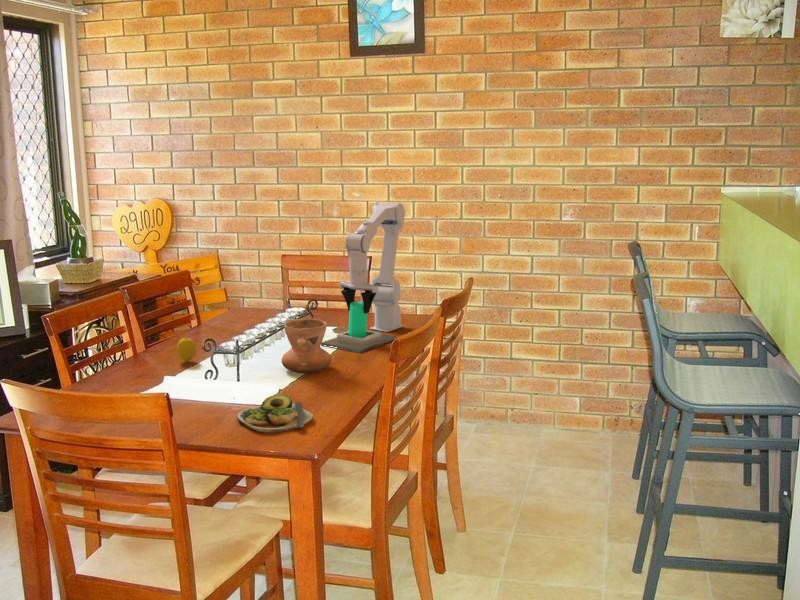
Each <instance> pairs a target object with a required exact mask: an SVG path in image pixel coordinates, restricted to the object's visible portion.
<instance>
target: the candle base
mask: <svg viewBox="0 0 800 600" xmlns="http://www.w3.org/2000/svg"><path fill="white" fill-rule="evenodd" d="M348 331H349V330H347V331H344V332H342V333H339V334H336V337H334V338H331V339H328V340H324V341H322V343H321V345H326V346H333V347H337V348H340V349H339V350H342V349H343V350H344V351H347V350H348V351H349V352H355V353H359V354H361V353H364V352H367V351H368V350H372V349H375V348H377V347H376V346H378V347H380V346H379V345H381V344H383V345H385V344H384V343H386V342H389V341H391V340H392V342H394V341H395V340H394V339H395V338H397V336H396V335H389V334H382V332H381V331H375V330H374V331H373V330H370V329H369V330H368V329H367V331H366V335H365V336H362V337H355V336H351V335H349V334H348ZM397 339H398V338H397ZM393 340H394V341H393ZM389 343H390V342H389ZM386 344H387V343H386ZM321 345H320V346H321ZM326 346H325V347H326ZM381 346H382V345H381ZM374 347H375V348H374ZM337 348H336V349H337ZM371 348H372V349H371ZM343 350H342V351H343ZM366 350H367V351H366ZM348 351H347V352H348Z"/></svg>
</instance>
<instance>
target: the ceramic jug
mask: <svg viewBox="0 0 800 600" xmlns="http://www.w3.org/2000/svg"><path fill="white" fill-rule="evenodd" d="M327 325H328V324H327V322H326V321H325V320H322V319H319V318H311V317H308V318H307V317H305V318H296V319H291V320H289V321H286V322H285V323H284V326H283V327H284V331H285V334H286V337H287V340H288V341H289V344H290V347H291V348H290V349H289V350H287V351H286V352H285V353H283V355H282V358H281V364H282V366H283V367H284V368H285V369H286V370H288V371H289V372H292V373H297V374H313V373H317V372H320V371H323V370H325V369H327V368H328V367H329V366H330V365H331V363H332V356H331V354H330V353H329V352H328V351H327V350H325V349H324V348H323V347H322V346H321V343H322V342H323V339H324V338H325V334H326V331H327Z"/></svg>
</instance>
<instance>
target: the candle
mask: <svg viewBox="0 0 800 600" xmlns="http://www.w3.org/2000/svg"><path fill="white" fill-rule="evenodd" d="M368 315H369V313H367V314H365V313H364V306H363V300H362V301H360V298H359V299H358V301H354V302H351V303H350V311H349V315H348V316H349V317H348V318H349V319H348V330H347V331H348V334H349V335H351V336H355V337H362V336H365V335H366V331H367V330H368Z"/></svg>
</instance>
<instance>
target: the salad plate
mask: <svg viewBox="0 0 800 600" xmlns="http://www.w3.org/2000/svg"><path fill="white" fill-rule="evenodd" d="M236 417H237V418H236V419H237V421H238V422H239V423H240V424H241V425H244V426H245V427H246V428H247V427H248V428H249V429H251V430H255V431H257V432H260V433H270V434H271V433H272V434H273V433H282V432H283V433H284V432H287V431H291V430H296V429H299V428H300V429H301V428H304V426H305V425H306V424H307V423H310V421H311V420H312V419H313V417H314V414H313V413H312V412H310V411H308V410H306V409H304V408H303V403H302V402H301V401H294V403H293V400H292V398H291V397H290V396H289V395H287V394H281V393H279V394H273V395H271V396H269V397H266V398H265V399H264V400H263V401H262V404H261V406H258V407H252V408H246V409H243V410H241V411H239V412H238V414H237V415H236ZM254 425H255V426H254ZM257 425H258V426H257ZM261 425H270V426H271V425H272V426H274V427H262V426H261ZM260 426H261V427H260Z"/></svg>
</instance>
